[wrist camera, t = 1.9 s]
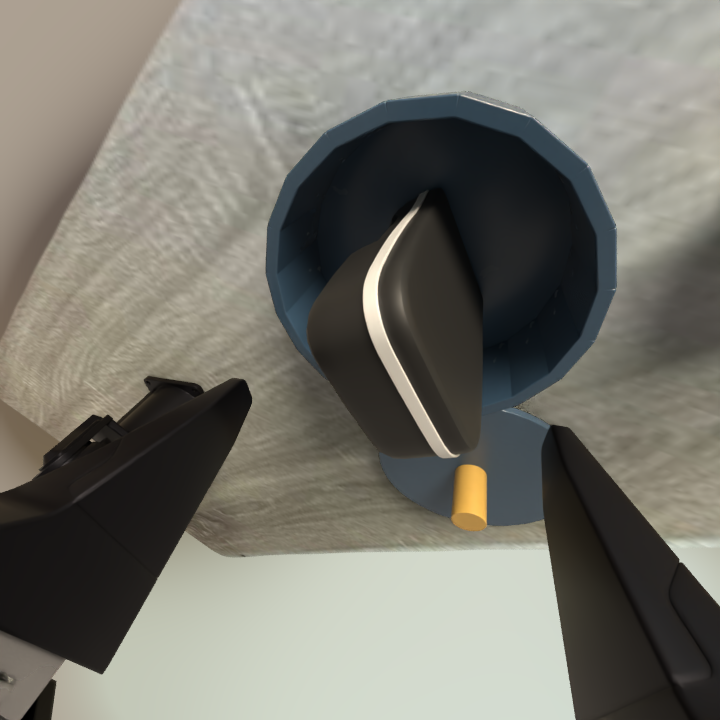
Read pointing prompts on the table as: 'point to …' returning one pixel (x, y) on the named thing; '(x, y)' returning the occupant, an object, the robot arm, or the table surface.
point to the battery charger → (406, 335)
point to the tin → (474, 221)
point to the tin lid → (481, 475)
